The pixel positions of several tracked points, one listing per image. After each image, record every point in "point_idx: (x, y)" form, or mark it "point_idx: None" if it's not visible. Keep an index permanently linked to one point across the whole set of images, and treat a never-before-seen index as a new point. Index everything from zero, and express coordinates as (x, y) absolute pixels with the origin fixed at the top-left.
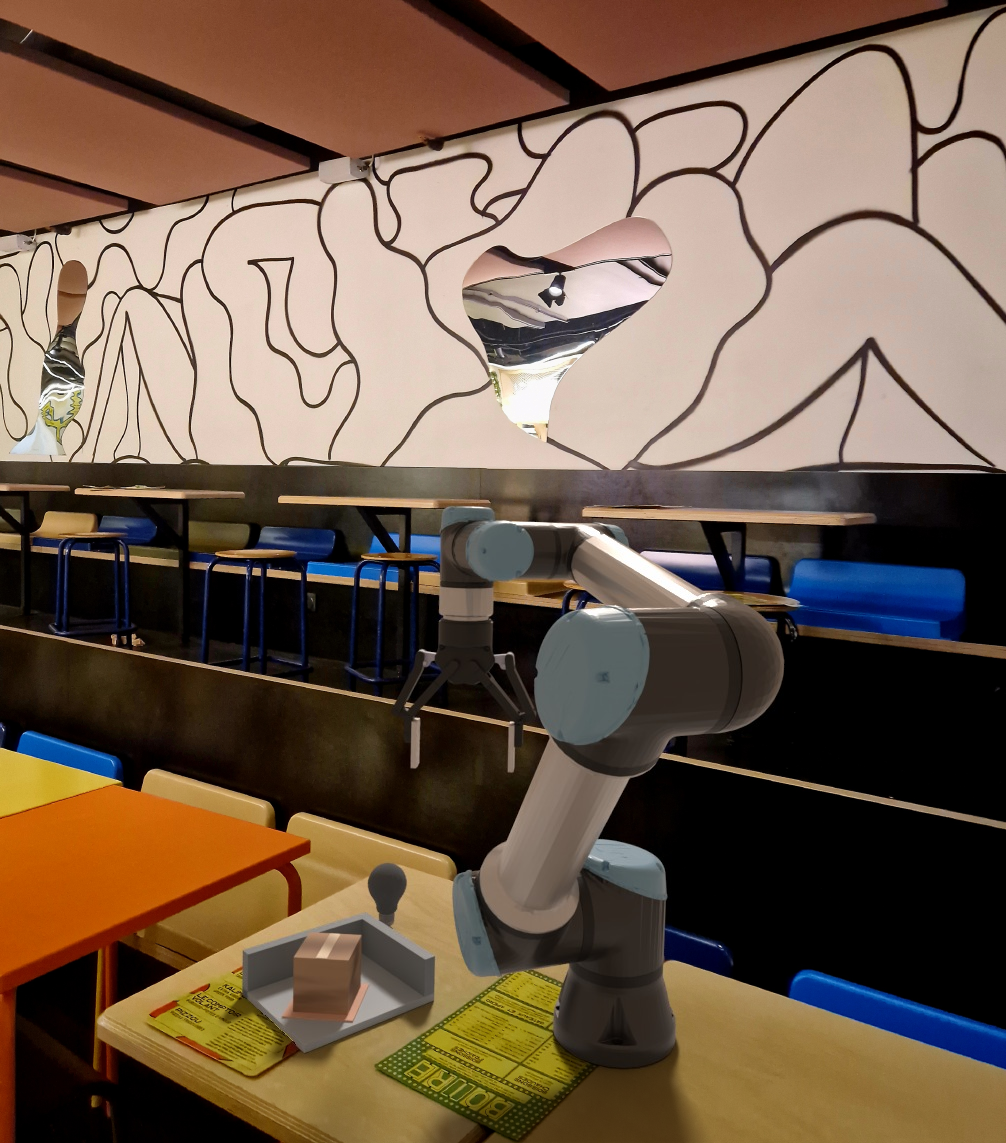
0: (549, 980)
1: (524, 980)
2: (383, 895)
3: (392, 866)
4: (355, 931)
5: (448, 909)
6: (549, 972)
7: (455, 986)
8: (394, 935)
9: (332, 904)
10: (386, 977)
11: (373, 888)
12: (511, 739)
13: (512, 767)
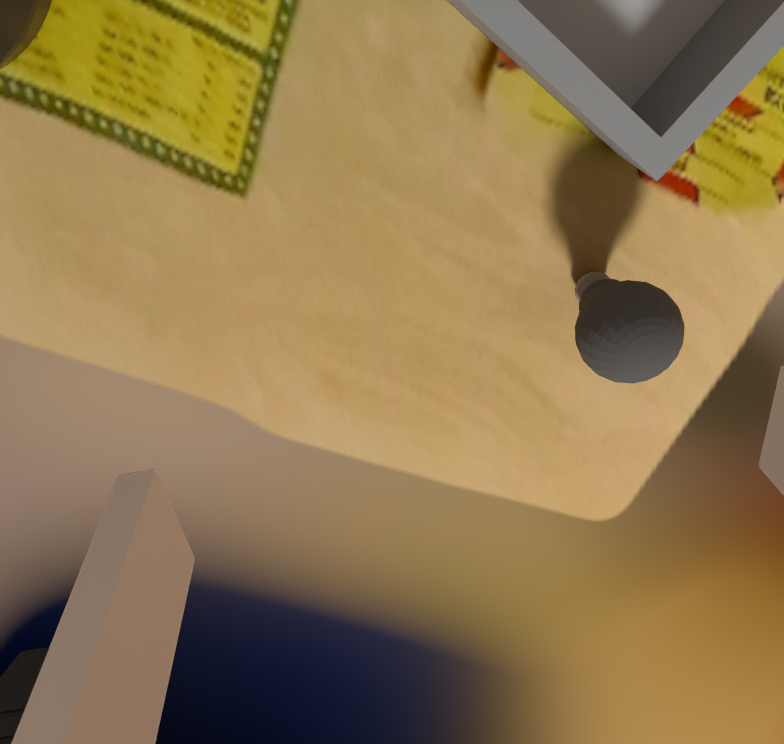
0: (147, 141)
1: (205, 124)
2: (625, 282)
3: (633, 353)
4: (663, 112)
5: (469, 394)
6: (161, 180)
7: (360, 44)
8: (552, 57)
9: (725, 346)
10: (536, 3)
11: (659, 289)
12: (57, 686)
13: (113, 496)
